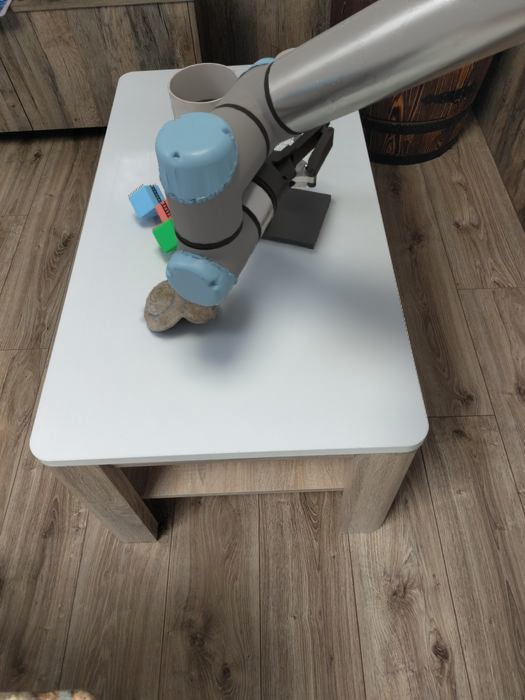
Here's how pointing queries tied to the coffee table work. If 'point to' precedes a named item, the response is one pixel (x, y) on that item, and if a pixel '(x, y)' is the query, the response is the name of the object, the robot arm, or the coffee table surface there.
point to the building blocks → (149, 205)
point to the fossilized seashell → (173, 309)
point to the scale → (298, 218)
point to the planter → (199, 87)
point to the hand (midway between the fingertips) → (311, 99)
